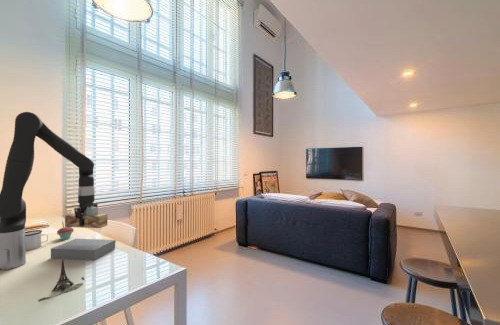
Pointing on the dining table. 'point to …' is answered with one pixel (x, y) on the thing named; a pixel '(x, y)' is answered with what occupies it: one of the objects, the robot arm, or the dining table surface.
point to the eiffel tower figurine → (64, 283)
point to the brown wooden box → (86, 221)
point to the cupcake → (65, 232)
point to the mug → (33, 239)
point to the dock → (83, 249)
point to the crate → (91, 211)
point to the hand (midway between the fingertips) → (86, 223)
